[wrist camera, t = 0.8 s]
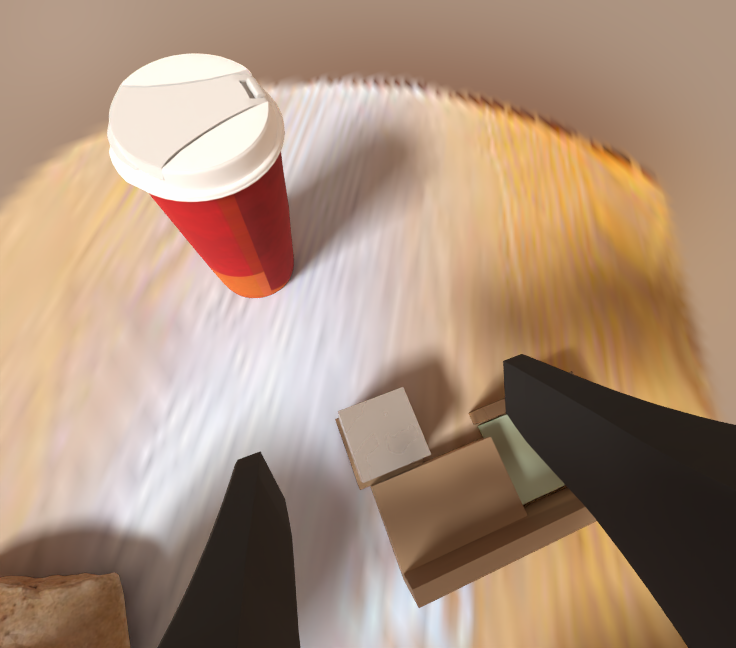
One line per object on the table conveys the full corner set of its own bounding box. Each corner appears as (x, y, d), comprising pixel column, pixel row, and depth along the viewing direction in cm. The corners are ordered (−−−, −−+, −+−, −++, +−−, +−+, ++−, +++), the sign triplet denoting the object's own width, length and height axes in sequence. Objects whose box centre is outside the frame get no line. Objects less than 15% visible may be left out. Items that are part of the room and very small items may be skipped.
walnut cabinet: (604, 484, 26) (662, 488, 21) (393, 584, 23) (405, 614, 18) (530, 345, 29) (566, 322, 24) (335, 420, 26) (333, 410, 22)
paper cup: (281, 208, 32) (237, 26, 19) (325, 283, 30) (311, 138, 17) (188, 247, 30) (67, 78, 17) (228, 330, 28) (126, 210, 15)
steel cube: (418, 456, 25) (431, 454, 21) (360, 480, 24) (363, 483, 21) (394, 398, 26) (403, 386, 23) (338, 419, 26) (338, 411, 22)
